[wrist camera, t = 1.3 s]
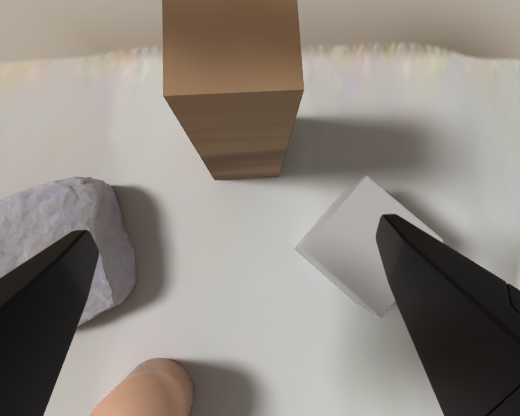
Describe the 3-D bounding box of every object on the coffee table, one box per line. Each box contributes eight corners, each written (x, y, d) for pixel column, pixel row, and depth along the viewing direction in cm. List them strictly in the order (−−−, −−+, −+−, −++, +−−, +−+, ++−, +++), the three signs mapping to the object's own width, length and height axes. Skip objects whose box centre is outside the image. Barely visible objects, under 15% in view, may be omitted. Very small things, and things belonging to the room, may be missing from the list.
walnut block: (278, 176, 24) (303, 89, 11) (214, 180, 24) (163, 95, 11) (274, 116, 24) (294, -34, 11) (212, 119, 24) (162, -29, 11)
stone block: (155, 291, 24) (115, 171, 24) (132, 316, 19) (80, 166, 19) (12, 334, 24) (-33, 215, 23) (-47, 371, 19) (-105, 222, 19)
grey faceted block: (403, 242, 23) (443, 240, 18) (354, 302, 23) (381, 317, 18) (343, 191, 24) (366, 175, 19) (293, 248, 23) (303, 248, 18)
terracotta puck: (206, 406, 21) (191, 453, 16) (145, 449, 21) (110, 510, 16) (170, 343, 22) (145, 371, 17) (109, 384, 21) (65, 424, 17)
